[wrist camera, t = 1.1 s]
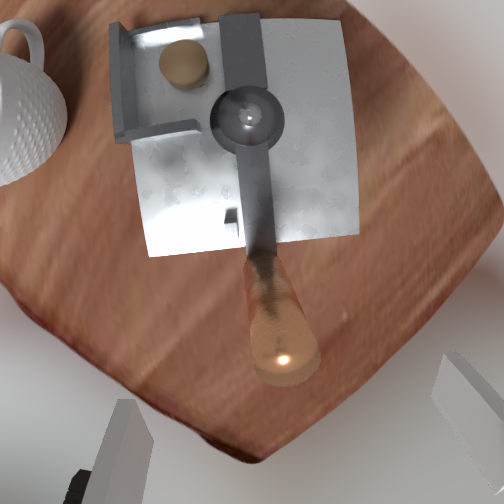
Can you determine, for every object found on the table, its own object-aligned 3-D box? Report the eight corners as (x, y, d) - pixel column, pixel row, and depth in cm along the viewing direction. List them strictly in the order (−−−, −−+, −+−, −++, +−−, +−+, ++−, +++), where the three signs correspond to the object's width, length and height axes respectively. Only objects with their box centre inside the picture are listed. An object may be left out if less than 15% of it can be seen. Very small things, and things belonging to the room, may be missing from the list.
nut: (165, 55, 22) (157, 43, 19) (208, 48, 22) (205, 36, 19) (168, 93, 23) (160, 86, 20) (211, 87, 23) (209, 78, 20)
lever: (210, 29, 21) (194, -67, 8) (264, 25, 21) (295, -71, 8) (237, 283, 28) (244, 391, 15) (288, 277, 28) (331, 379, 15)
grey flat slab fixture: (130, 45, 23) (109, 24, 17) (333, 27, 23) (355, 4, 18) (154, 250, 29) (137, 273, 23) (351, 228, 30) (377, 246, 24)
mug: (19, 46, 21) (-57, 20, 9) (102, 32, 22) (35, -21, 10) (1, 177, 25) (-84, 199, 13) (80, 179, 27) (-5, 204, 14)
